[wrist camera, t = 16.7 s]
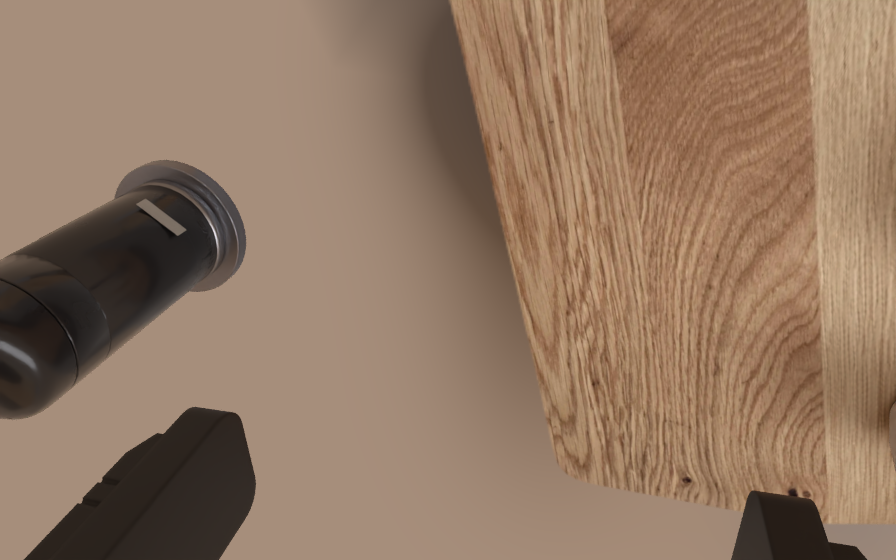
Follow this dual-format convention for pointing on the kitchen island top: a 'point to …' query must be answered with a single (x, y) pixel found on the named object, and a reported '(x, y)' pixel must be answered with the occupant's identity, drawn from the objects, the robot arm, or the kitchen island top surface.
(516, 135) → the kitchen island top surface
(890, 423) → the cup
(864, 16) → the kitchen island top surface
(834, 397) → the kitchen island top surface
